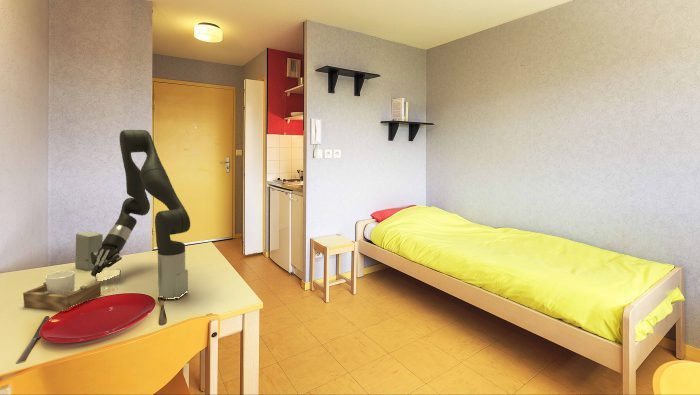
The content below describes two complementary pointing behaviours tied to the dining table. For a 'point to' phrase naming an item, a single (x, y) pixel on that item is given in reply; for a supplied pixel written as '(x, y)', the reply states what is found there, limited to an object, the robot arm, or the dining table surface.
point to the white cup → (61, 282)
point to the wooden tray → (59, 297)
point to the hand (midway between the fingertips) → (94, 275)
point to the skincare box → (87, 249)
